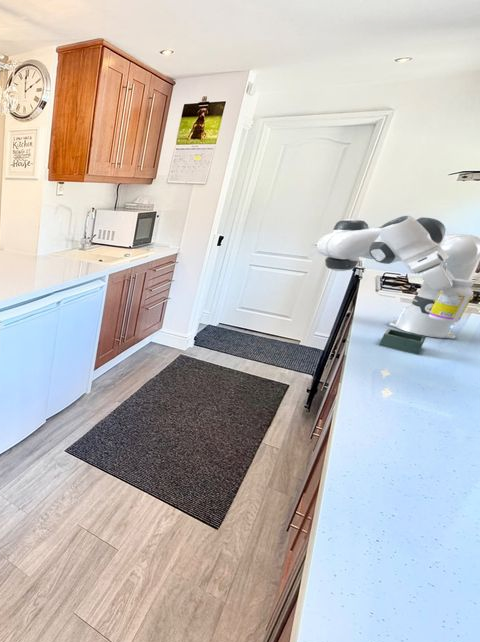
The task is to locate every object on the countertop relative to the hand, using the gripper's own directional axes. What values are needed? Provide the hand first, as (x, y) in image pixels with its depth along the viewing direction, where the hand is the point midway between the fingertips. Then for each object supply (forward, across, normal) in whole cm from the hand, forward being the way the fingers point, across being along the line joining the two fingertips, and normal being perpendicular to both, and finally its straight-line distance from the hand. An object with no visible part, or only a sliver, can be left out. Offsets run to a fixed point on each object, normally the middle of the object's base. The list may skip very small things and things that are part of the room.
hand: (456, 297), depth 125 cm
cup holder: (+12, -17, -21) cm, 30 cm away
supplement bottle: (+5, 0, -6) cm, 8 cm away
